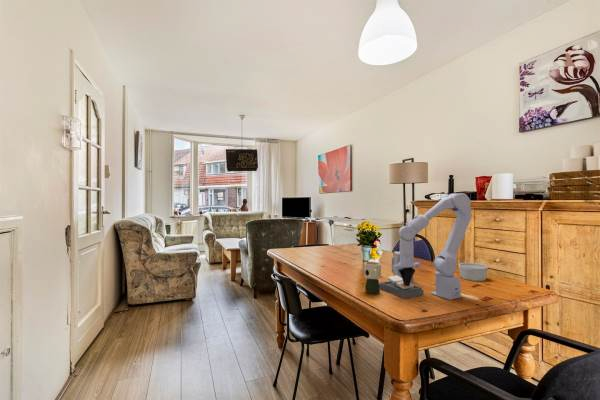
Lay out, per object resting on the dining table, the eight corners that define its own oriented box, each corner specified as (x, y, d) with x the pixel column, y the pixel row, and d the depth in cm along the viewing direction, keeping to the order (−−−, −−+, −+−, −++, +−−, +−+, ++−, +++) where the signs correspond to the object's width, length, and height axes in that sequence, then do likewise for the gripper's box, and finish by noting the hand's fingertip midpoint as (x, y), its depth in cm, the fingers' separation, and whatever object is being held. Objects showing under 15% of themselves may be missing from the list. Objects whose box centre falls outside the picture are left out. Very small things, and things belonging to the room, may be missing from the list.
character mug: (361, 289, 136) (361, 260, 136) (376, 288, 136) (376, 260, 137) (367, 296, 125) (367, 266, 125) (384, 296, 126) (384, 265, 126)
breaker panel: (423, 294, 128) (423, 287, 128) (405, 298, 123) (405, 291, 123) (395, 285, 142) (395, 278, 142) (378, 288, 137) (378, 281, 137)
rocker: (413, 288, 130) (413, 284, 129) (403, 290, 127) (403, 286, 127) (396, 277, 138) (397, 274, 138) (386, 279, 136) (387, 276, 135)
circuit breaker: (405, 278, 155) (405, 249, 155) (413, 285, 141) (413, 254, 141) (391, 277, 156) (391, 249, 156) (397, 285, 142) (397, 254, 142)
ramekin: (492, 282, 146) (492, 268, 146) (463, 281, 149) (463, 267, 149) (481, 276, 159) (481, 263, 160) (455, 275, 162) (455, 262, 162)
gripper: (411, 251, 136) (411, 280, 136) (387, 253, 129) (387, 285, 129) (424, 253, 130) (424, 284, 130) (399, 256, 123) (399, 289, 123)
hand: (406, 285), depth 129 cm, fingers closed, pressing on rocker
